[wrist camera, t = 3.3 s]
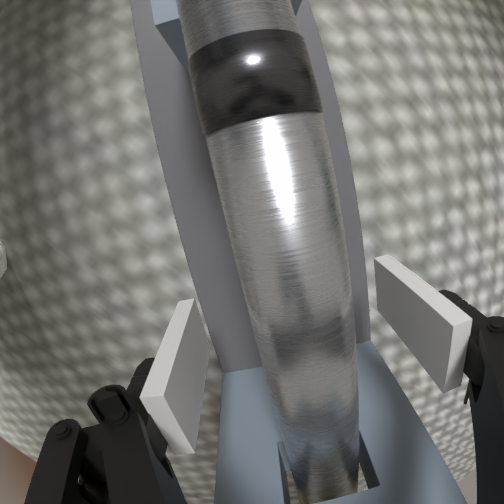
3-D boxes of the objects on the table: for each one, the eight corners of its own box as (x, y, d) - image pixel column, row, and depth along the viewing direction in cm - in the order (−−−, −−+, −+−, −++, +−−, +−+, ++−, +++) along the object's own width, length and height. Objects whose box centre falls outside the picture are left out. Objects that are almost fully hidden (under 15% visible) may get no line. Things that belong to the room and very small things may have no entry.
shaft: (177, -6, 8) (156, -54, 5) (269, -23, 7) (277, -75, 5) (302, 504, 15) (309, 542, 12) (350, 492, 15) (361, 530, 12)
